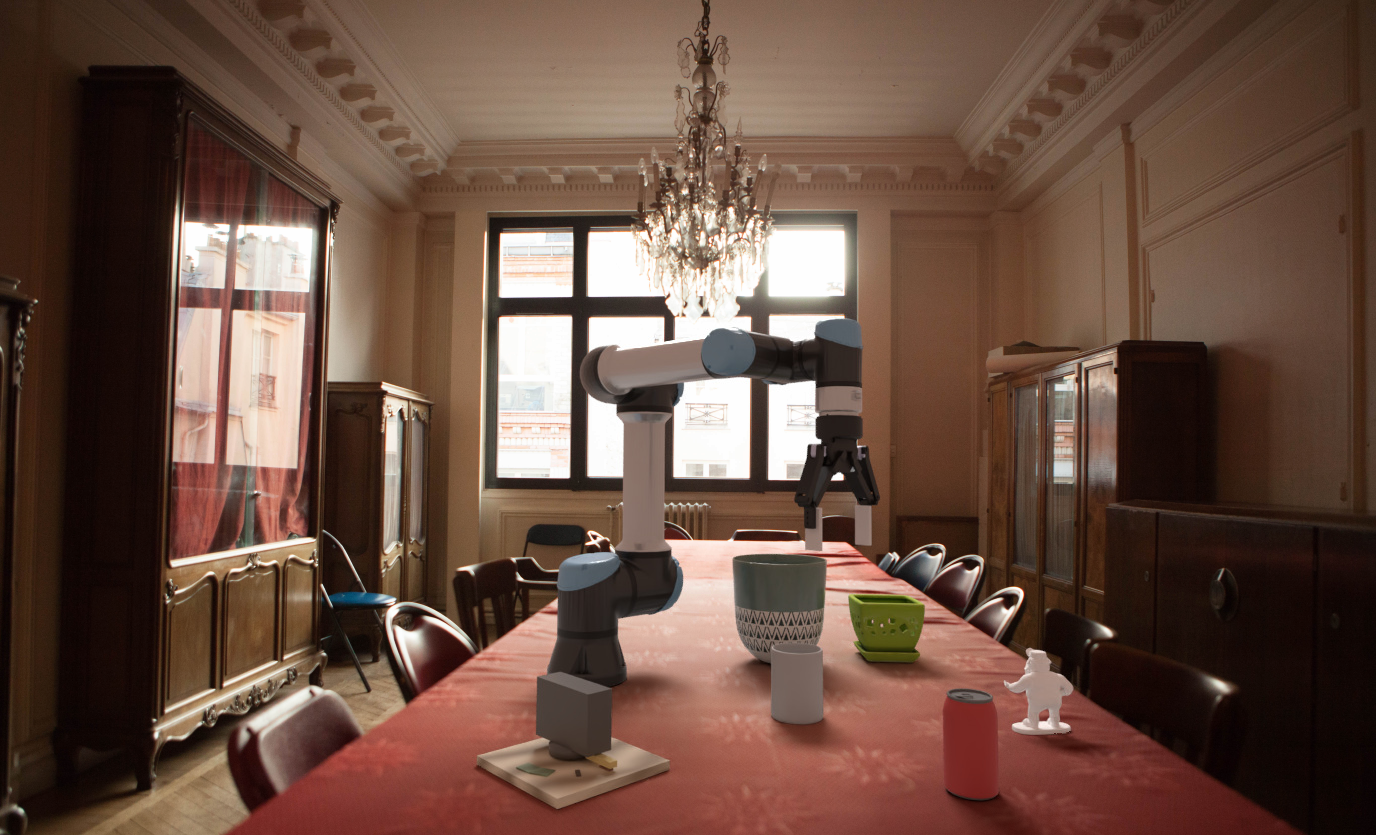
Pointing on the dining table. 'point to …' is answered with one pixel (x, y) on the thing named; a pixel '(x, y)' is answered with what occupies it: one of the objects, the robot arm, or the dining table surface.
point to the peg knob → (575, 718)
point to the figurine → (1041, 695)
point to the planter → (778, 600)
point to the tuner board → (569, 770)
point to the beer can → (970, 744)
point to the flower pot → (887, 626)
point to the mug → (797, 683)
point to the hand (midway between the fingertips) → (839, 547)
